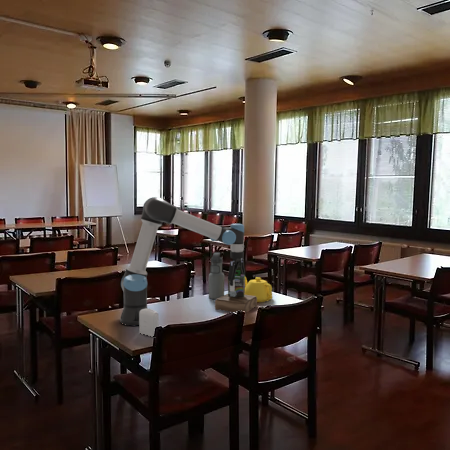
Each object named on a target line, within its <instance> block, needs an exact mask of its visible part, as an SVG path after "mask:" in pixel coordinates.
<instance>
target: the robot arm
mask: <svg viewBox="0 0 450 450" xmlns="http://www.w3.org/2000/svg"><path fill="white" fill-rule="evenodd" d="M142 206H143V207H142V212H141V216H140V221H141V222H142V224H141V227H140V231H139V234H138V237H137V241H136V244H135V247H134V251H133V254H132V257H131V260H130V264H129V266H126V268H125V271H124V274H123V275H122V278H121V281H120V287H121V289H122V291H123V309H122V311H121V316H120V318H119V319H120V320H119V323H120V322H121V323H123V324H126V325H139V312H140V310H142V309H146V308H148V279H147V276H148V272H147V271H146V269H147V266H148V263H149V260H150V255H151V253H152V250H153V246H154V244H155V243H154V242H155V238H156V236H157V232H158V229H159V228H160V227H162V226H163V223H166V224H169V225H172V224H174V225H177V226H178V227H182V228H183V229H187V230H189V231H192V232H194V233H197V234H199V235H201V236H205V237H208V238H209V239H210V241H211V242H219V243H223V244H224V245H226V246H230V259H232V261H230V262H229V268H228V275H227V281H228V280H230V291H233V292H234V291H235V280H234V277H235V274H237V272H236V270H240V271H241V274H245V275H246V268H245V259H244V254H245V253H244V251H245V249H244V248H245V245H244V244H245V225H244V224H242V223H231V224H230V227H223V226H220V225H219V224H215V223H212V222H211V221H207V220H205V219H204V218H203V219H202V218H201V217H198V216H196V215H193V214H190V213H188V212H185V211H183V210H181V209H178V207H177V206H175V205H173V204H171V203H170V202H168V201H167V200H165V199H163V198H162V197H161V198H160V197H156V196H155V197H149V198H148V199H147V200H146V201H145V202H144V203H143V205H142ZM121 323H120V324H121ZM126 325H125V326H126Z"/></svg>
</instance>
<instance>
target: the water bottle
mask: <svg viewBox="0 0 450 450" xmlns="http://www.w3.org/2000/svg"><path fill="white" fill-rule="evenodd" d="M210 259H211V261H210V263H211V265H210V267H209V274H208V298H209V299H211V300H216V299H217V298H219V297H221V296H224V295H225V274H224V272H223V258H222V257H221V252H214V253H212V257H211V258H210Z"/></svg>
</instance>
